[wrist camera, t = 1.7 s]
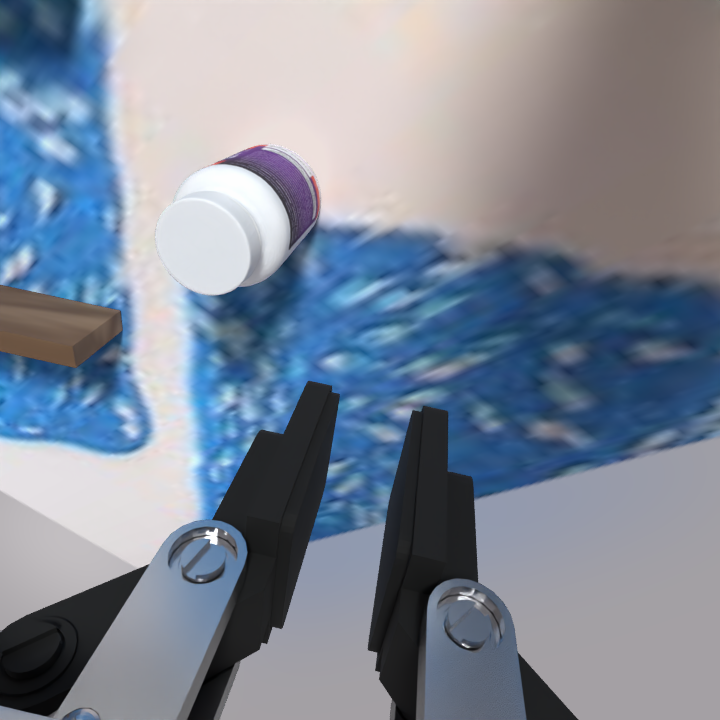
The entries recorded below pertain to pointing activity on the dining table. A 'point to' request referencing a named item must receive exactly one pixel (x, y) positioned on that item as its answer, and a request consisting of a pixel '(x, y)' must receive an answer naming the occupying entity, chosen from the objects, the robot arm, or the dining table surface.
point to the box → (54, 327)
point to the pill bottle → (238, 219)
